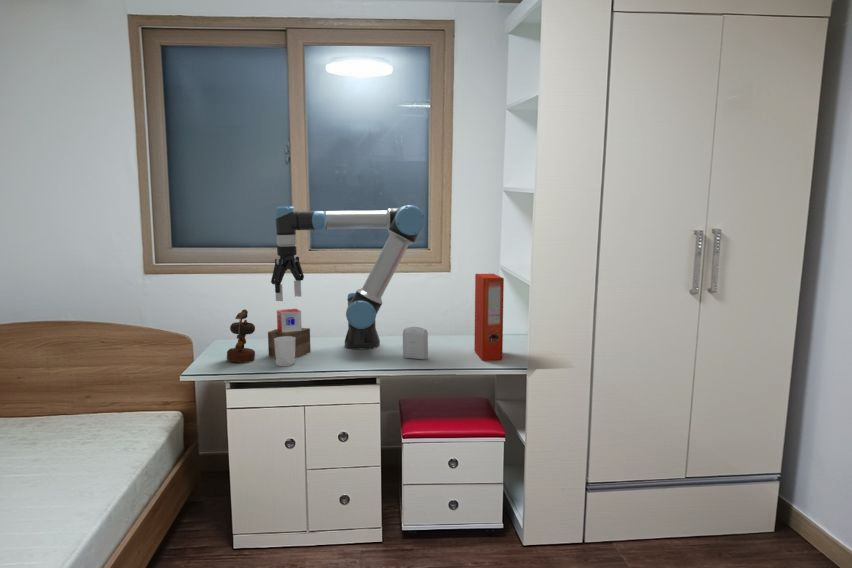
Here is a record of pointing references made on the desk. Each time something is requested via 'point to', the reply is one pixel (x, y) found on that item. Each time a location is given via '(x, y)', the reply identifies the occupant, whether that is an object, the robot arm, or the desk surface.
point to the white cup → (285, 350)
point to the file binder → (489, 316)
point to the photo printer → (415, 343)
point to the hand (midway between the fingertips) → (288, 298)
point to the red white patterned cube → (289, 320)
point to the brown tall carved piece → (241, 340)
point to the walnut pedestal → (300, 341)
